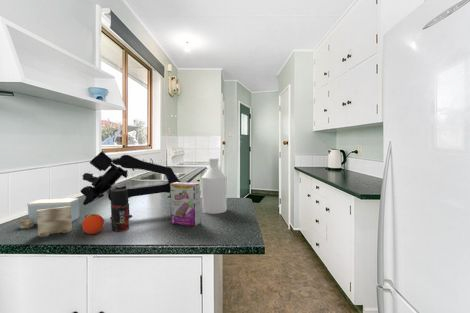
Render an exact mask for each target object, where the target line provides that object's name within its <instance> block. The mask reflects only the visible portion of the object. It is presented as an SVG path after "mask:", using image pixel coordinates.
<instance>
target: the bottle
mask: <svg viewBox="0 0 470 313" xmlns="http://www.w3.org/2000/svg"><path fill="white" fill-rule="evenodd" d="M219 161H220V158H218V157H209V158H208V162H209V168H208V169H207V171H206V172H205V173H204V174H203V175H202V176H201V200H202V205H201V206H202V212H203V213H205V214H211V215H213V214H222V213H226V212H227V192H228V191H227V190H228V188H227V183H228V182H227V180H228V179H227V175H225V173H224V172H222V170H221V169H220V168H219Z"/></svg>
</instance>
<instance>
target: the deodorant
mask: <svg viewBox="0 0 470 313" xmlns="http://www.w3.org/2000/svg"><path fill="white" fill-rule="evenodd" d="M110 194H111V201H110V214H111V215H110V217H111V218H110V219H111V232H114V233H121V232H125V231H128V230H129V228H130V219H129V218H130V217H129V215H130V212H129V213H128V203H129V201H128V200H129V198H128V189H124V188H122V189H113V190H110Z"/></svg>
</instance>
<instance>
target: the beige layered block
mask: <svg viewBox="0 0 470 313" xmlns="http://www.w3.org/2000/svg"><path fill="white" fill-rule="evenodd" d="M37 222H38V224H37V236H38V237H40V238H44V237H49V235H53V234H58V233H62V234H65V233H71V231H73V225H72V224H73V223H72V222H73V221H71V206H66V207H58V208H50V209H42V210H37Z"/></svg>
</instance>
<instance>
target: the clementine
mask: <svg viewBox="0 0 470 313" xmlns="http://www.w3.org/2000/svg"><path fill="white" fill-rule="evenodd" d="M81 223H82V225H81V226H82V230H83V231H84V233H87V234H89V235H95V234H97V233H99V232H100V231H101V230H102V229H103V228H104V226H105V219H104V218H103V217H102V216H101V215H100V214H97V213H90V214H87V215H85V216H84V218H83V221H82V222H81Z"/></svg>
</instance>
